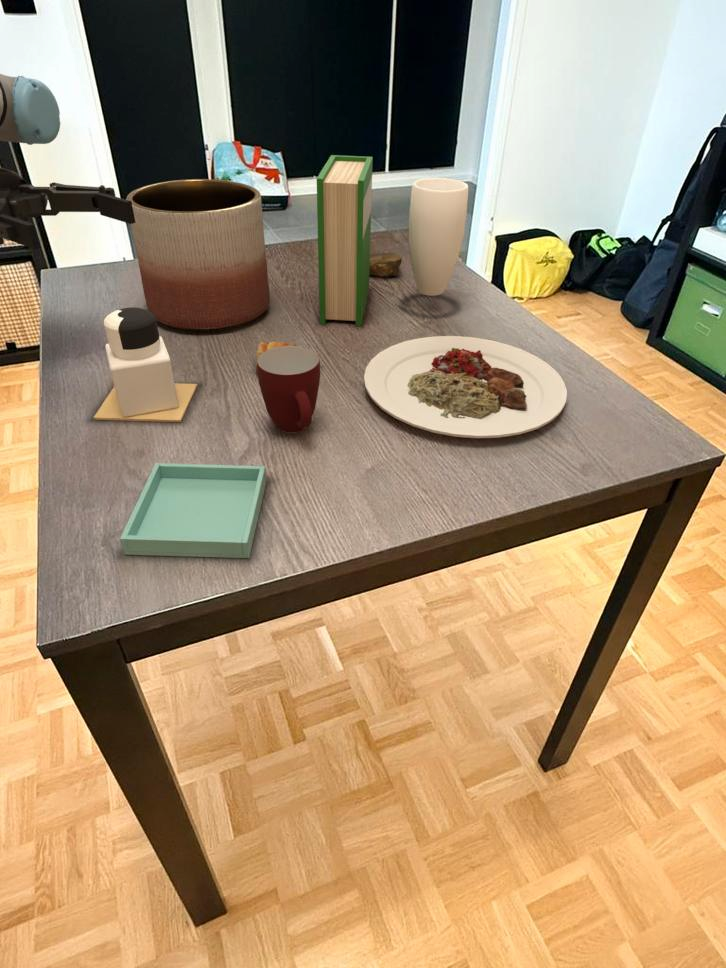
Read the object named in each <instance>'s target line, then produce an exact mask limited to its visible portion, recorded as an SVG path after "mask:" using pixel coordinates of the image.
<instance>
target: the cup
mask: <svg viewBox="0 0 726 968" xmlns="http://www.w3.org/2000/svg"><path fill="white" fill-rule="evenodd" d="M468 200H469V185H468V183H466V182H465V181H462V180H458V179H453V178H445V177H425V178H420V179H417V180H415V181H413V182H412V184H411V194H410V203H409V211H408V212H409V214H408V248H409V258H410V264H411V270H412V274H413V278H414V281H415V285H416V289H417V291H418V292H419V293H420V294H421V295H425V296H432V297H433V296H434V297H435V296H439V295H442V294H443V293H444V292H445V290H446V288H447V286H448V284H449V282H450V280H451V278H452V275H453V273H454V271H455V268H456V264H457V262H458V259H459V255H460V253H461V249H462V245H463V241H464V240H463V239H464V233H465V227H466V222H467V213H468V212H467V211H468Z"/></svg>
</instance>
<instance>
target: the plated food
mask: <svg viewBox="0 0 726 968" xmlns="http://www.w3.org/2000/svg"><path fill="white" fill-rule="evenodd" d="M363 381H364V386H365V390H366V392H367V394H368V396H369V397H370V399H371V400H372V401H373V402H374V404H376V406H378V407H379V408H380V409H381V410H382V411H383V412H385V413H387V414H388V415H389V416H391V417H393V418H394V419H396V420H399V421H400V422H402V423H405V424H407V425H409V426H411V427H414V428H418V429H421V430H425V431H428V432H430V433H433V434H439V435H445V436H451V437H455V438H469V439H494V438H495V439H497V438H498V439H499V438H505V437H512V436H518V435H522V434H525V433H529V432H532V431H535V430H538V429H540V428H542V427H544V426H545V425H547V424H549V423H551V422H553V420H555V418H557V417H558V416H559V415H560V414H561V413H562V411H563V409H564V407H565V405H566V403H567V397H568V390H567V388H566V384H565V382H564V380H563V378H562V377H561V375H560V374H559V372H557V370H555V369H554V368H553V367H552V366H551V365H550V364H549V363H548V362H546V361H544V360H543V359H541V358H540V357H538V356H537V355H534V354H533V353H530V352H528V351H526V350H524V349H521V348H519V347H516V346H514V345H511V344H508V343H504V342H501V341H496V340H492V339H487V338H481V337H480V338H479V337H474V336H473V337H472V336H460V335H435V336H426V337H425V336H424V337H419V338H413V339H409V340H404V341H402V342H398V343H397V344H394V345H391V346H389V347H387V348H385V349H383V350H381V351H380V352H378V353H377V354H376V355H375V356H374V357H373V358H372V359H371V360H370V361H369V362H368V364H367V366H366V367H365V370H364V375H363Z"/></svg>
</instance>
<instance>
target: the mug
mask: <svg viewBox="0 0 726 968" xmlns="http://www.w3.org/2000/svg"><path fill="white" fill-rule="evenodd" d="M256 360H257V369H256V373H257V380H258V381H257V382H258V385H259V389H260V392H261V396H262V399H263V403H264V406H265V409H266V412H267V415H268V416H269V418H270V419H271V421H272V422H273V423H274V425H275V426H276V428H277V429H278V430H279V431H281V432H283V433H287V434H295V433H299V432H302V431H304V430H305V429H306V428H309V427H310V426H311V425H312V422H313V416H314V413H315V410H316V407H317V401H318V395H319V390H320V389H319V388H320V382H321V362H320V361H321V360H320V356H319V355H318V354H317V353H316V352H315V351H314V350H312V349H309V348H307V347H303V346H298V345H296V346H281V347H275V348H272V349H269V350H267V351H265V352H263V353H262V354H260V355H259V357H258V358H257V357H256Z"/></svg>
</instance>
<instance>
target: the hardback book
mask: <svg viewBox="0 0 726 968" xmlns="http://www.w3.org/2000/svg"><path fill="white" fill-rule="evenodd" d="M373 160H374V159H373V156H359V155H358V156H357V155H339V154H337V155H336V154H335V155H334V154H331V155H330V156H329V157H328V160H327V162H326V163H325V164H324V166H323V167H322V169H321V170H320V172H319V174H318V176H317V177H316V209H317V210H316V211H317V214H316V215H317V217H316V218H317V253H318V256H317V258H318V260H317V261H318V296H319V299H318V300H319V301H318V302H319V303H318V304H319V324H320V325H326V323H327V320H334V321H352V322H355V326H356V327H361V326H362V324H363V318H364V314H365V309H366V305H367V299H368V295H369V291H370V274H369V268H370V254H371V229H372V227H371V226H372V193H373Z"/></svg>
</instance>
